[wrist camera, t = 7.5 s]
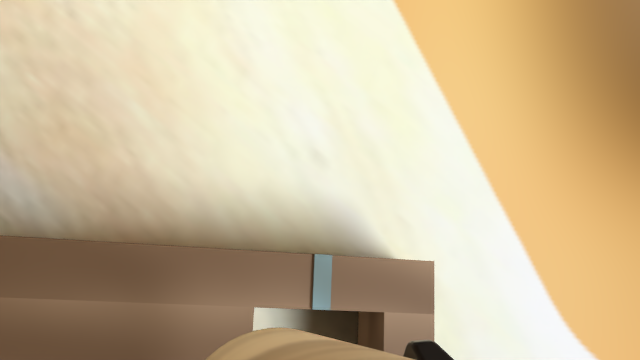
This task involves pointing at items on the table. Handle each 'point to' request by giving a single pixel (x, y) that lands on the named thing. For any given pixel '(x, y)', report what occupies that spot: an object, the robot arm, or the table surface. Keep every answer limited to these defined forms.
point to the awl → (295, 347)
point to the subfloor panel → (191, 297)
